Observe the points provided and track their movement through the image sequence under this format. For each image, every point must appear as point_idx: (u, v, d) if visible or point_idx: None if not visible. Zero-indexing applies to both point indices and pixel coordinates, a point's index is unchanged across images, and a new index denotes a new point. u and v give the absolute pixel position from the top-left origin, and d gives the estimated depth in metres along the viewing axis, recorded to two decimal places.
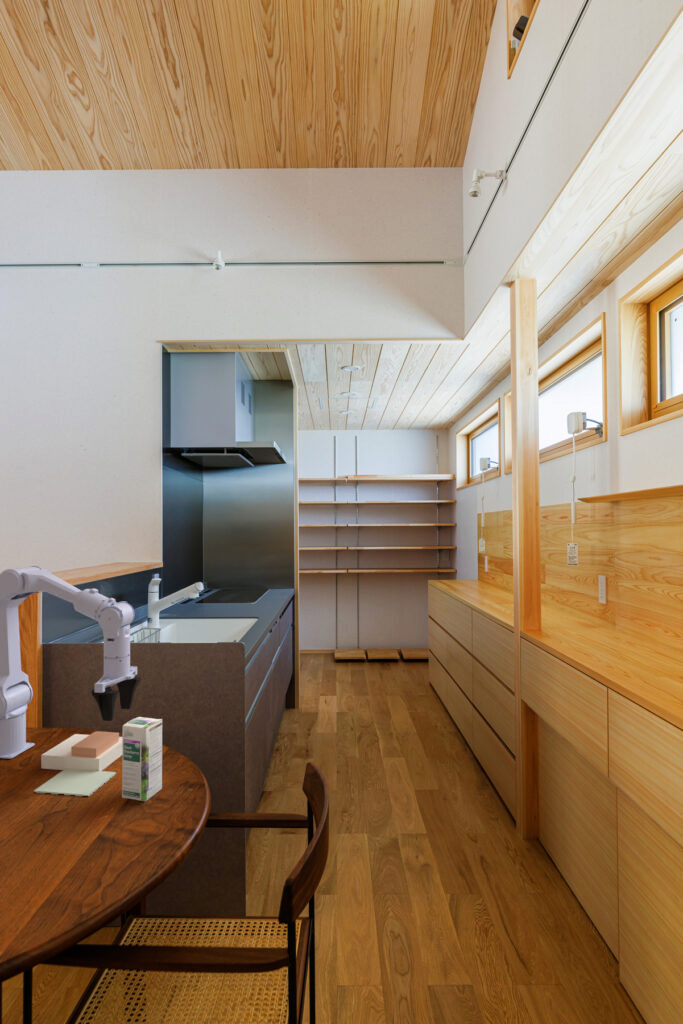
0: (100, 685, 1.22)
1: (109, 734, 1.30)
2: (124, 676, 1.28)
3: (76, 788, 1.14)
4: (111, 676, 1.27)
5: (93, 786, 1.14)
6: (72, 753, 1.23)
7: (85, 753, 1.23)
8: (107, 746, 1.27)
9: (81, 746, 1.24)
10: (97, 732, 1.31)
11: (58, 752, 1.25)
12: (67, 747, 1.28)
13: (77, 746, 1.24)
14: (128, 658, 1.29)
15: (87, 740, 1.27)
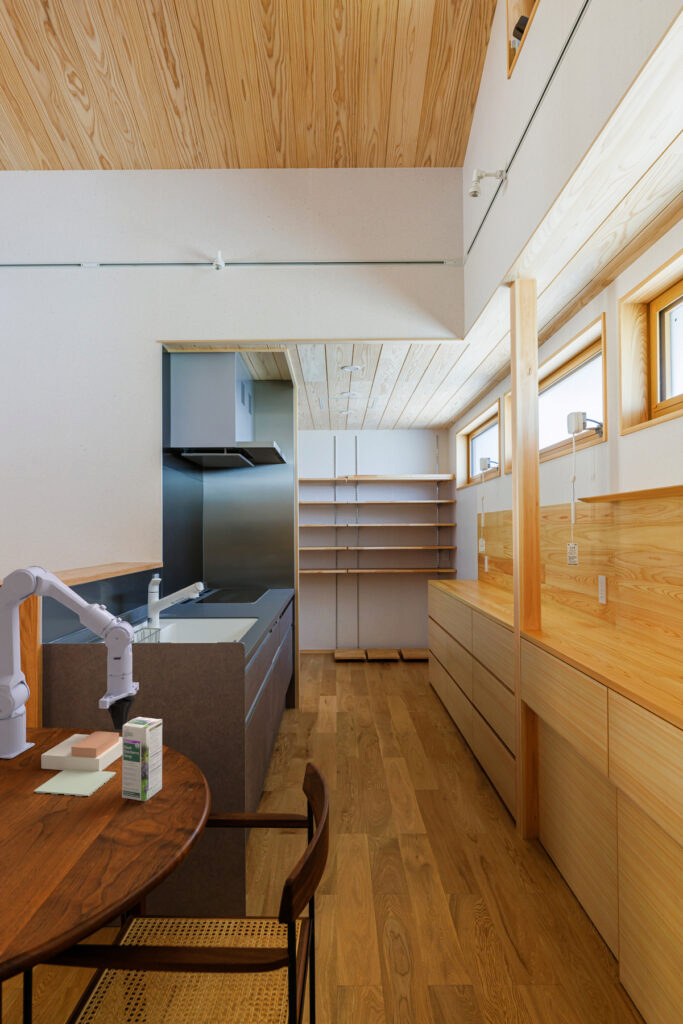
0: (104, 702, 1.30)
1: (109, 734, 1.30)
2: (127, 692, 1.35)
3: (76, 788, 1.14)
4: (114, 693, 1.34)
5: (93, 786, 1.14)
6: (72, 753, 1.23)
7: (85, 753, 1.23)
8: (107, 746, 1.27)
9: (81, 746, 1.24)
10: (97, 732, 1.31)
11: (58, 752, 1.25)
12: (67, 747, 1.28)
13: (77, 746, 1.24)
14: (130, 675, 1.37)
15: (87, 740, 1.27)
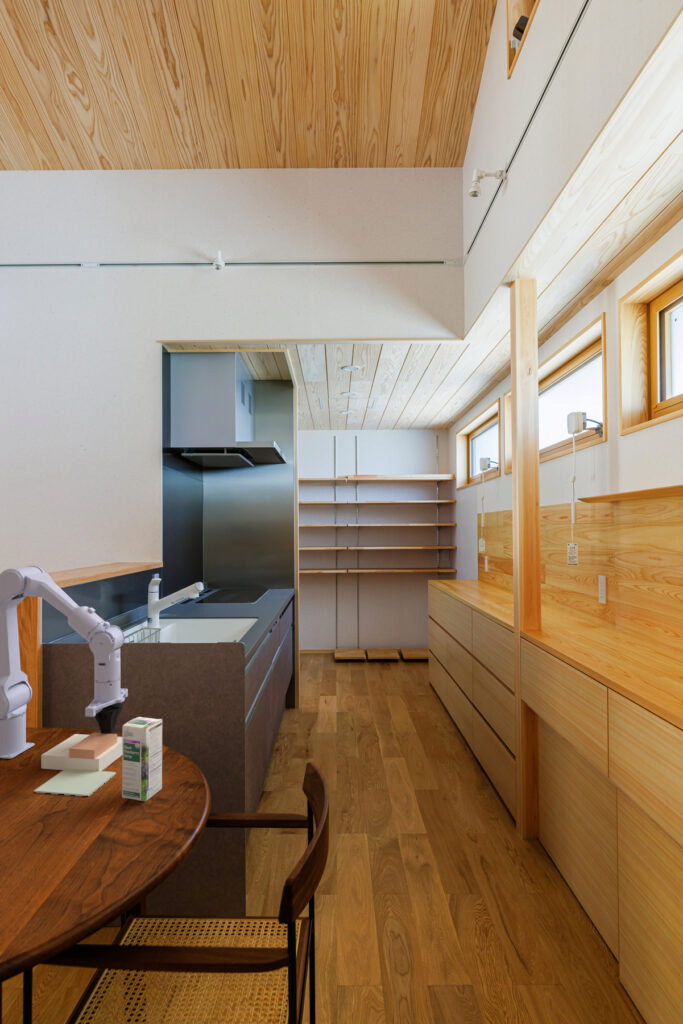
0: (91, 709, 1.25)
1: (107, 735, 1.30)
2: (114, 699, 1.30)
3: (76, 788, 1.14)
4: (102, 700, 1.29)
5: (93, 786, 1.14)
6: (70, 755, 1.22)
7: (83, 755, 1.22)
8: (105, 747, 1.26)
9: (79, 748, 1.23)
10: (95, 733, 1.31)
11: (58, 752, 1.25)
12: (67, 747, 1.28)
13: (75, 748, 1.23)
14: (118, 682, 1.32)
15: (85, 741, 1.26)
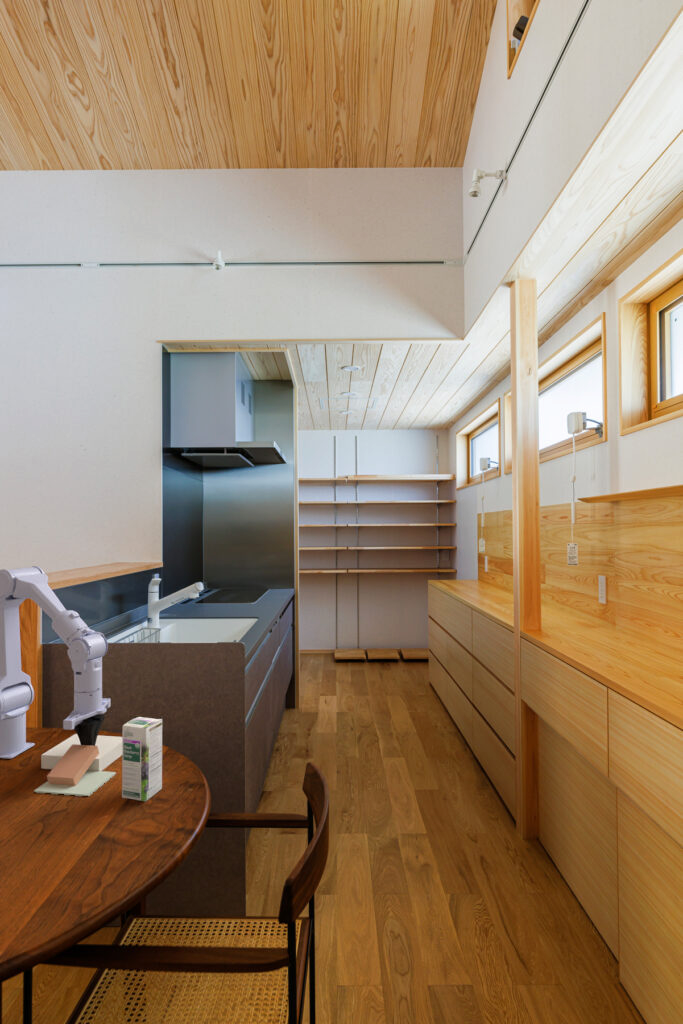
0: (69, 722, 1.17)
1: (87, 749, 1.22)
2: (95, 711, 1.23)
3: (76, 788, 1.14)
4: (81, 711, 1.22)
5: (93, 786, 1.14)
6: (49, 781, 1.16)
7: (63, 782, 1.15)
8: (86, 766, 1.19)
9: (57, 775, 1.15)
10: (74, 746, 1.23)
11: (58, 752, 1.25)
12: (67, 747, 1.28)
13: (53, 775, 1.15)
14: (100, 692, 1.24)
15: (63, 762, 1.19)
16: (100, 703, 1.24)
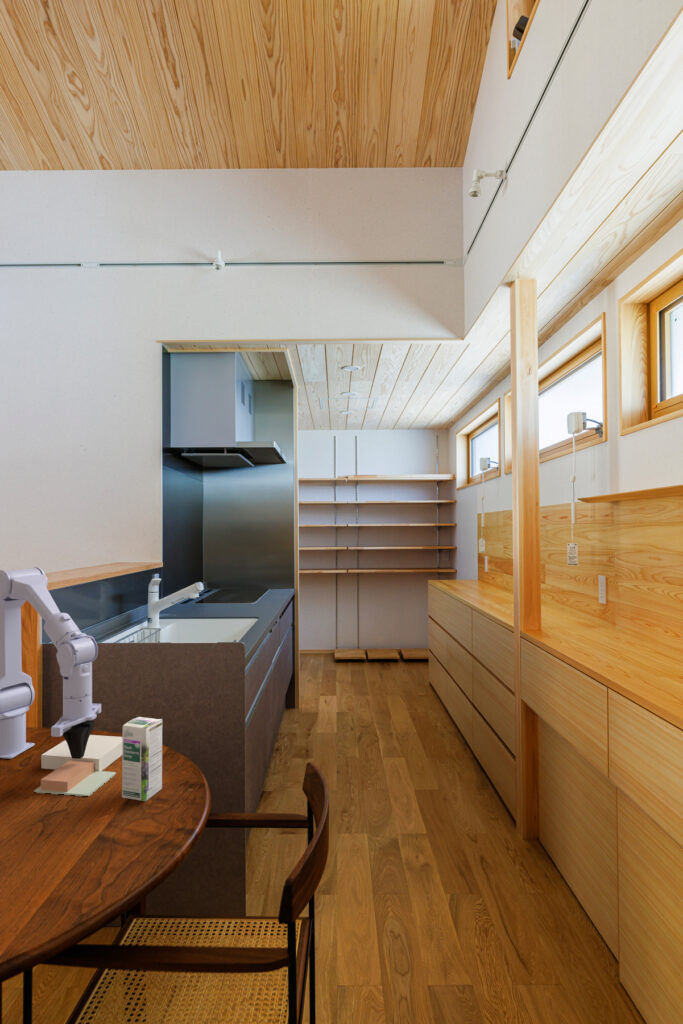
0: (57, 729, 1.14)
1: (83, 764, 1.21)
2: (85, 717, 1.19)
3: (76, 788, 1.14)
4: (70, 717, 1.18)
5: (93, 786, 1.14)
6: (41, 786, 1.13)
7: (55, 787, 1.13)
8: (81, 778, 1.17)
9: (51, 779, 1.14)
10: (70, 762, 1.22)
11: (58, 752, 1.25)
12: (67, 747, 1.28)
13: (47, 779, 1.14)
14: (89, 697, 1.20)
15: (59, 771, 1.17)
16: (90, 709, 1.21)
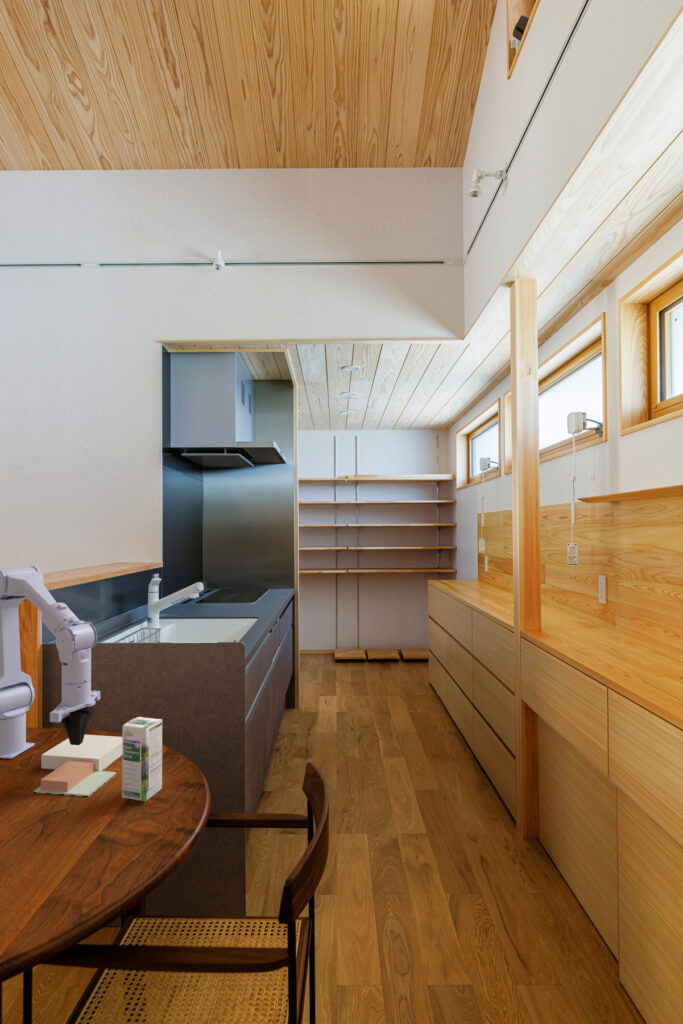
0: (56, 714, 1.13)
1: (83, 764, 1.21)
2: (84, 703, 1.19)
3: (76, 788, 1.14)
4: (69, 703, 1.18)
5: (93, 786, 1.14)
6: (41, 786, 1.13)
7: (55, 787, 1.13)
8: (81, 778, 1.17)
9: (51, 779, 1.14)
10: (70, 762, 1.22)
11: (58, 752, 1.25)
12: (67, 747, 1.28)
13: (47, 779, 1.14)
14: (88, 683, 1.20)
15: (59, 771, 1.17)
16: (89, 695, 1.20)
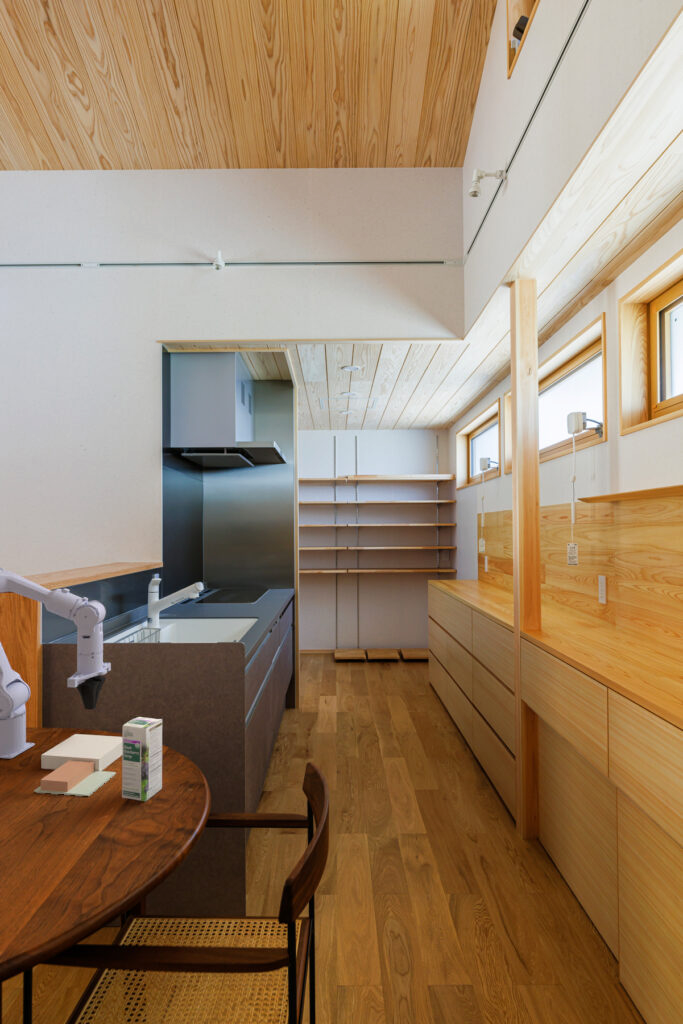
0: (73, 680, 1.28)
1: (83, 764, 1.21)
2: (97, 672, 1.34)
3: (76, 788, 1.14)
4: (84, 672, 1.32)
5: (93, 786, 1.14)
6: (41, 786, 1.13)
7: (55, 787, 1.13)
8: (81, 778, 1.17)
9: (51, 779, 1.14)
10: (70, 762, 1.22)
11: (58, 752, 1.25)
12: (67, 747, 1.28)
13: (47, 779, 1.14)
14: (101, 654, 1.35)
15: (59, 771, 1.17)
16: (101, 665, 1.35)
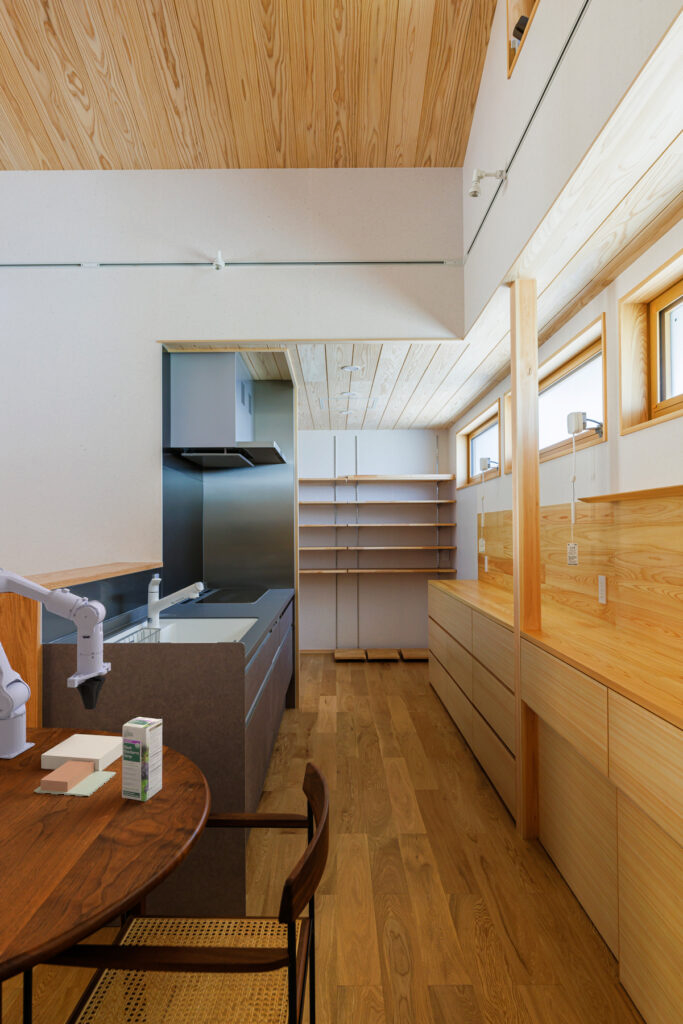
0: (73, 680, 1.28)
1: (83, 764, 1.21)
2: (97, 672, 1.34)
3: (76, 788, 1.14)
4: (84, 672, 1.32)
5: (93, 786, 1.14)
6: (41, 786, 1.13)
7: (55, 787, 1.13)
8: (81, 778, 1.17)
9: (51, 779, 1.14)
10: (70, 762, 1.22)
11: (58, 752, 1.25)
12: (67, 747, 1.28)
13: (47, 779, 1.14)
14: (101, 654, 1.35)
15: (59, 771, 1.17)
16: (101, 665, 1.35)
